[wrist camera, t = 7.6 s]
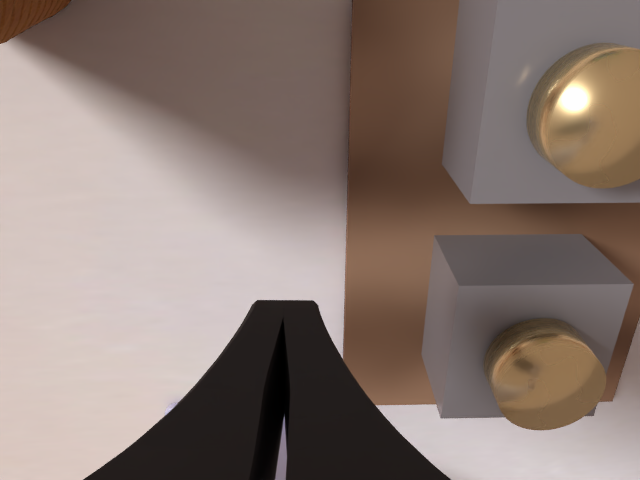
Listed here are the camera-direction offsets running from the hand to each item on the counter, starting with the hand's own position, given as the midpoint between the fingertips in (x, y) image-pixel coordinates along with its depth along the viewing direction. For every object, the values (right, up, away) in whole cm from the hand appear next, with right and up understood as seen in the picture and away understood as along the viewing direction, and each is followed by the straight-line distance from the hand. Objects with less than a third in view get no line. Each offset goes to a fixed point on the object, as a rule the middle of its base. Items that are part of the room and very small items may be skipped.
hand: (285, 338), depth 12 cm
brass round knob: (+8, +8, +7) cm, 13 cm away
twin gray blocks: (+8, +4, +10) cm, 13 cm away
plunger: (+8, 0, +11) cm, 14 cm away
